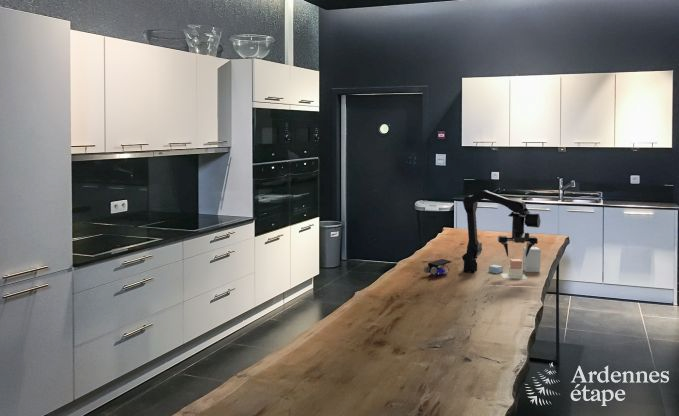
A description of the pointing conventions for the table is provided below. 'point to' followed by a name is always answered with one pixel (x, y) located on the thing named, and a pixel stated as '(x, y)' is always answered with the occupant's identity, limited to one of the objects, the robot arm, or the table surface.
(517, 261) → the terracotta brick
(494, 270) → the blue brick
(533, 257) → the supplement box
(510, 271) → the base brick
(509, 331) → the table surface
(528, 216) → the robot arm
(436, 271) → the figurine character
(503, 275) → the baseplate
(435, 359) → the table surface
